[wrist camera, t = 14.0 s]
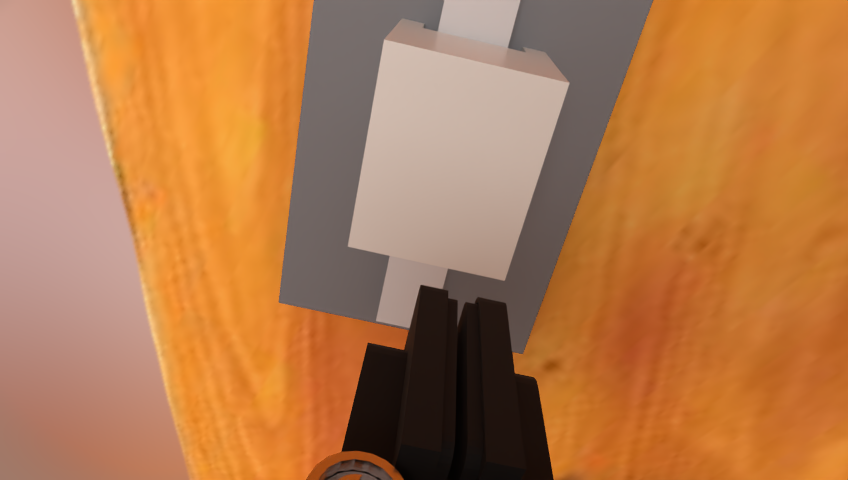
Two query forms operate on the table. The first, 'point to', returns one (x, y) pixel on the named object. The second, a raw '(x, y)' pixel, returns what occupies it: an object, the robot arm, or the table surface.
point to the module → (454, 149)
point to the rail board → (347, 133)
